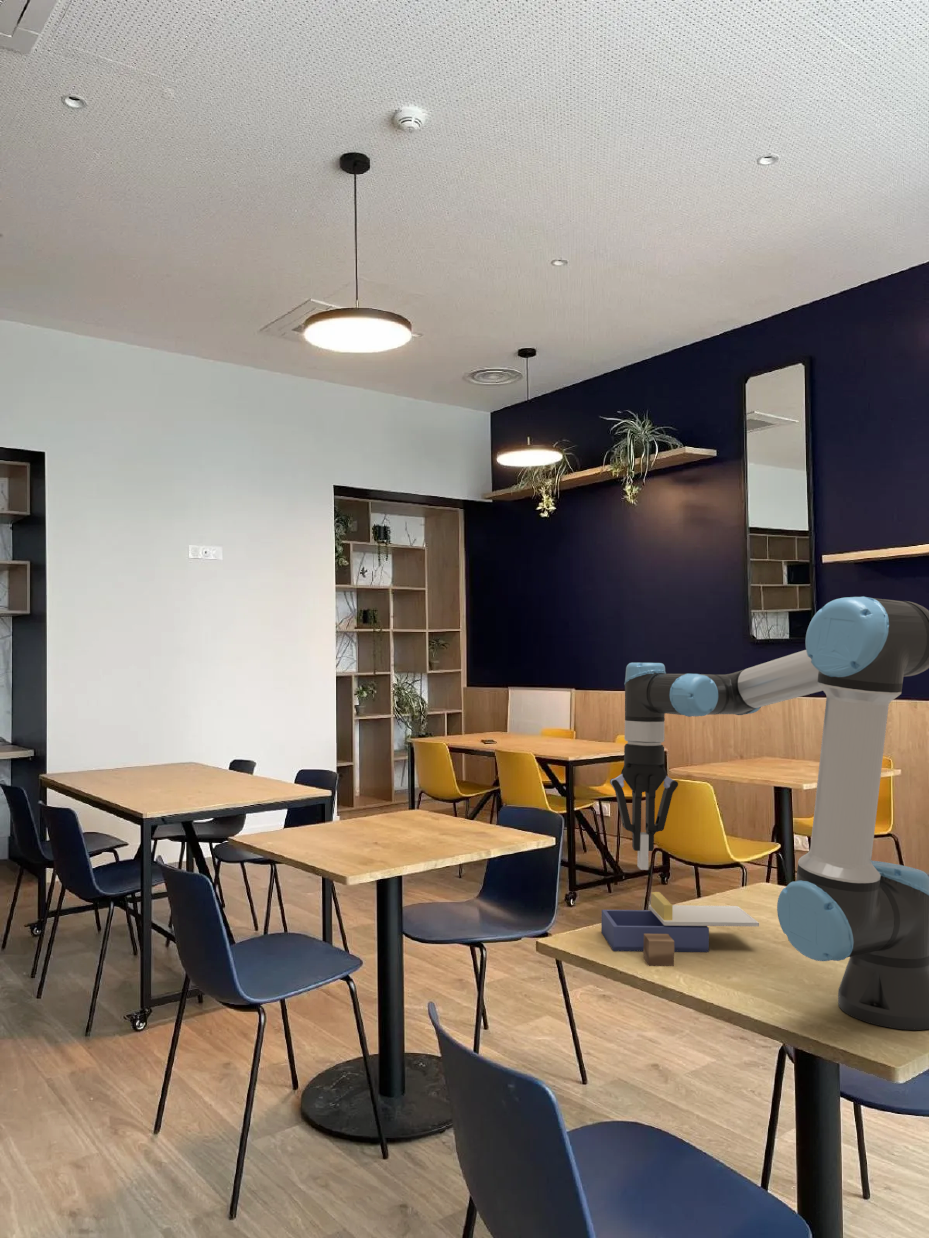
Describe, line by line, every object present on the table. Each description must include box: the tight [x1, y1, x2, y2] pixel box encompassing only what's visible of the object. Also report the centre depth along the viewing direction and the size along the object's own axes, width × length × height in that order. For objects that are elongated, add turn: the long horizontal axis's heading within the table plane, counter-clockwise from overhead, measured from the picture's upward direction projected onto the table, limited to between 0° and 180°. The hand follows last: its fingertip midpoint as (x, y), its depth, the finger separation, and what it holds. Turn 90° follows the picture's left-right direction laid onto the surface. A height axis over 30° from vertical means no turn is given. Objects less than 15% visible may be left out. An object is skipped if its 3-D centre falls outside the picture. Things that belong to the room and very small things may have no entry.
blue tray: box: [600, 909, 710, 953], centre depth 181 cm, size 12×18×4 cm, turn 92°
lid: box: [648, 891, 760, 928], centre depth 182 cm, size 12×18×4 cm, turn 92°
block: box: [642, 934, 675, 967], centre depth 169 cm, size 4×4×4 cm
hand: (642, 867), depth 178 cm, fingers closed
